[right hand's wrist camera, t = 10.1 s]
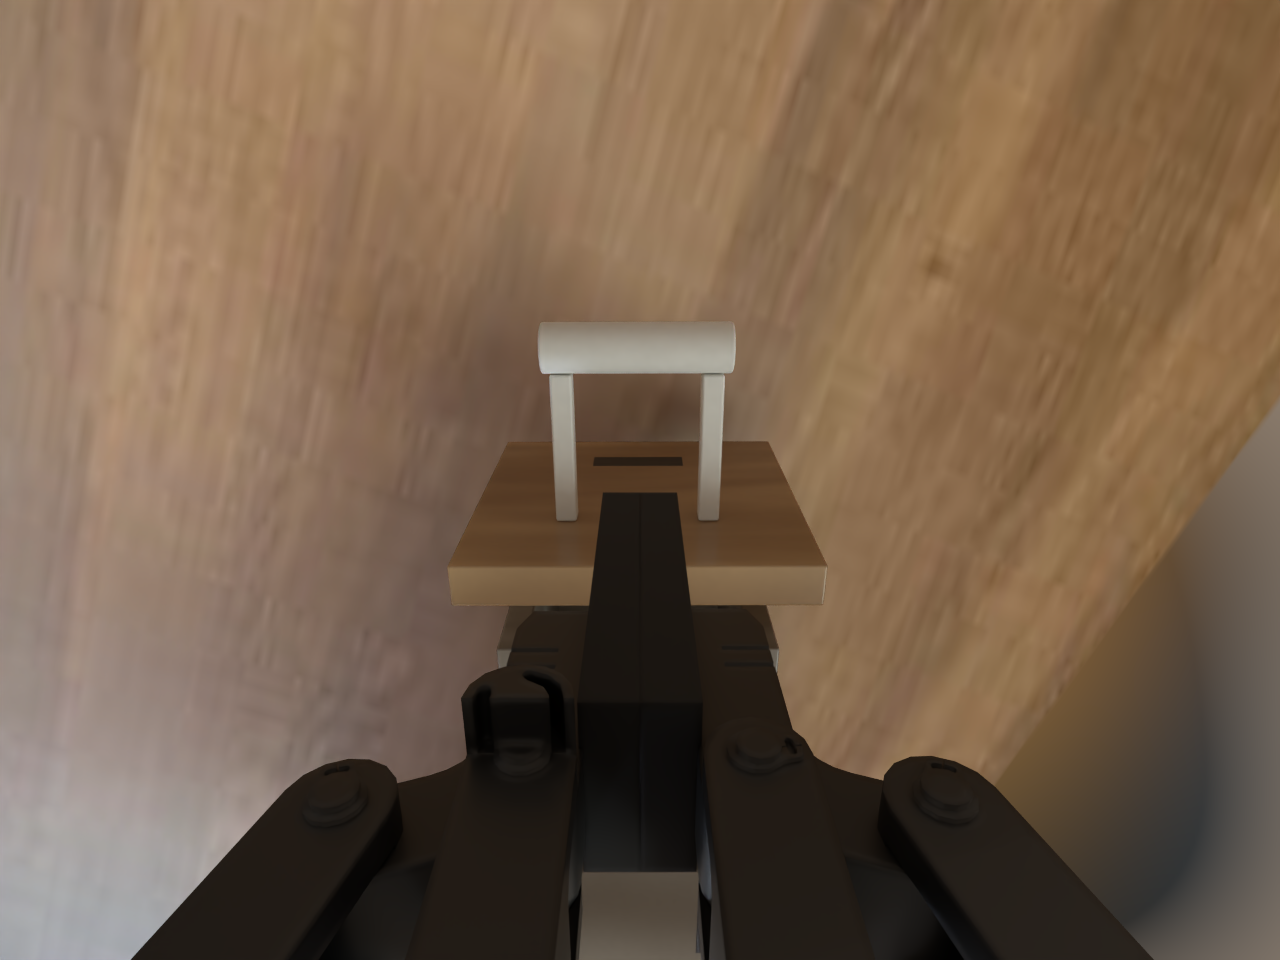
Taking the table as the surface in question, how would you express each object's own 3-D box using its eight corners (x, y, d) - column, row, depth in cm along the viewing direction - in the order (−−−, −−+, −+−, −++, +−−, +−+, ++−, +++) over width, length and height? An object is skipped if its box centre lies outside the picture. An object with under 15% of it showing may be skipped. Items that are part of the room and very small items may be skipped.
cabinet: (513, 640, 32) (451, 872, 22) (764, 640, 32) (825, 872, 22) (535, 905, 39) (495, 1185, 28) (744, 905, 39) (784, 1184, 28)
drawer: (496, 286, 25) (420, 346, 17) (779, 285, 25) (852, 345, 17) (531, 756, 33) (493, 963, 25) (747, 756, 33) (784, 963, 25)
